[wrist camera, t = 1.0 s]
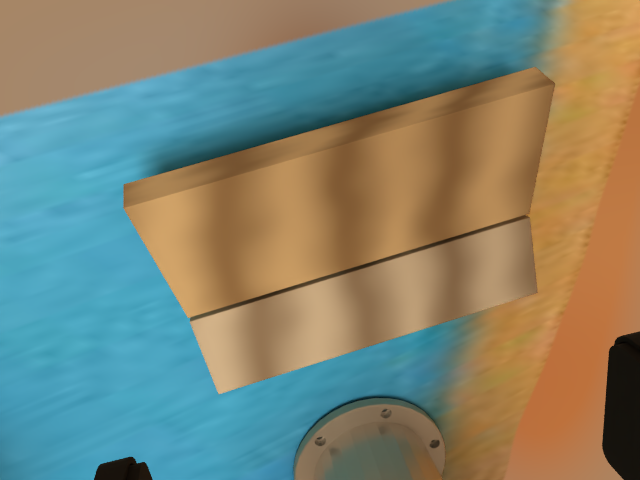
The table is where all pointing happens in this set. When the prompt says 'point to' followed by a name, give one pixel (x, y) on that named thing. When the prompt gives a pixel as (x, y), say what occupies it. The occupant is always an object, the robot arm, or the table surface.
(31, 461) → the table surface
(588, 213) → the table surface
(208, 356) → the ash board
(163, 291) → the table surface
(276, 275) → the oak plank
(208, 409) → the table surface
